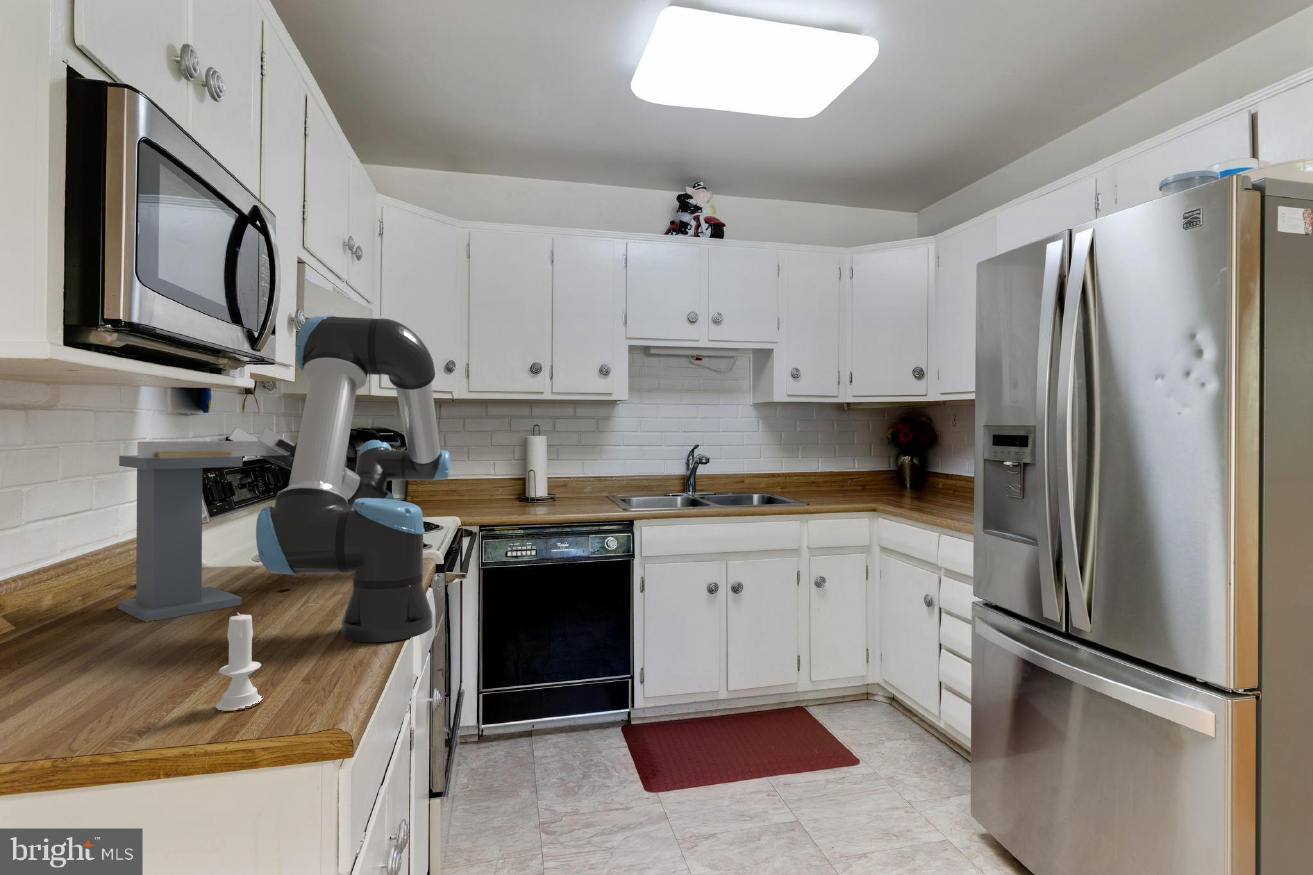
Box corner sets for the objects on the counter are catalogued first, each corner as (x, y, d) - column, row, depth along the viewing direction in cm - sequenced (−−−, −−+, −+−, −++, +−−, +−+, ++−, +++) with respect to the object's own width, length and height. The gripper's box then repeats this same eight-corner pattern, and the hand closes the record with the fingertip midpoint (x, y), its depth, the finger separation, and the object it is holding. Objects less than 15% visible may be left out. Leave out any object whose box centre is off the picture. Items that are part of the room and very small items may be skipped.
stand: (210, 593, 144) (211, 454, 144) (241, 604, 135) (242, 456, 135) (118, 608, 131) (119, 455, 131) (145, 622, 122) (146, 458, 122)
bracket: (216, 455, 137) (216, 450, 137) (231, 456, 133) (231, 451, 133) (146, 456, 128) (146, 451, 128) (159, 458, 123) (159, 452, 123)
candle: (208, 714, 84) (209, 619, 84) (225, 697, 89) (225, 608, 89) (255, 710, 85) (256, 617, 85) (269, 694, 91) (270, 606, 91)
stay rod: (282, 454, 146) (282, 440, 146) (288, 455, 144) (289, 441, 144) (137, 457, 125) (137, 441, 125) (143, 458, 123) (143, 441, 123)
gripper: (354, 498, 145) (264, 451, 130) (297, 490, 159) (210, 447, 144) (370, 467, 148) (284, 418, 133) (313, 463, 162) (230, 417, 147)
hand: (246, 433), depth 138 cm, fingers open, 13 cm apart
